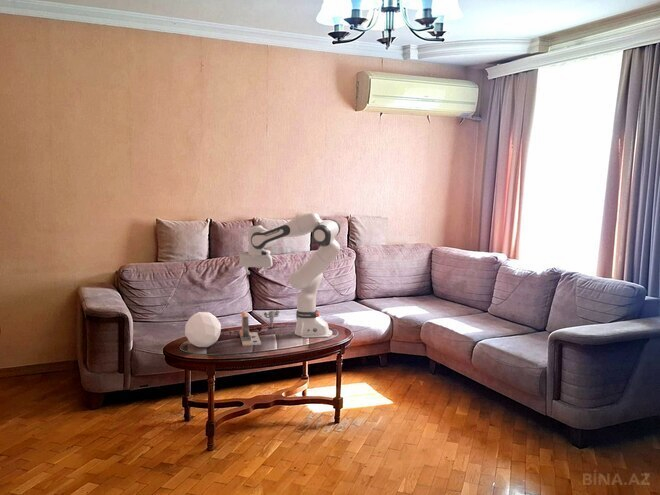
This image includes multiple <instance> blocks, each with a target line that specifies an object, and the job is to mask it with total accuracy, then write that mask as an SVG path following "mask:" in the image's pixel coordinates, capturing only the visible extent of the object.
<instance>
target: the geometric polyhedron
mask: <svg viewBox="0 0 660 495" xmlns="http://www.w3.org/2000/svg"><path fill="white" fill-rule="evenodd" d="M221 328H222V324H221V323H220V320H219V319H218V318H217V317H216V316H215V315H213V314H212V313H211V312H209V311H207V312H205V311H198V312H196V313H194V314H193V315H191V316H190V317H189V318H188V320H187V321H186V324H185V328H184V330H185V331H184V335H185V337H186V338H187V340H188V342H189V343H190V344H192V345H194V346H195V347H196V348H209V347H210V346H212V345H213V344H215V343H216V342H217V341H218V340H219V338H220V336H221Z"/></svg>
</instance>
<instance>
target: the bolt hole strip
mask: <svg viewBox="0 0 660 495" xmlns="http://www.w3.org/2000/svg"><path fill="white" fill-rule="evenodd" d="M249 335H250V336H251V341H250V346H261V345H262V341H261V339H260V336H259V333H258V332H255V331H254V332H251V331H250V332H249Z"/></svg>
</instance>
